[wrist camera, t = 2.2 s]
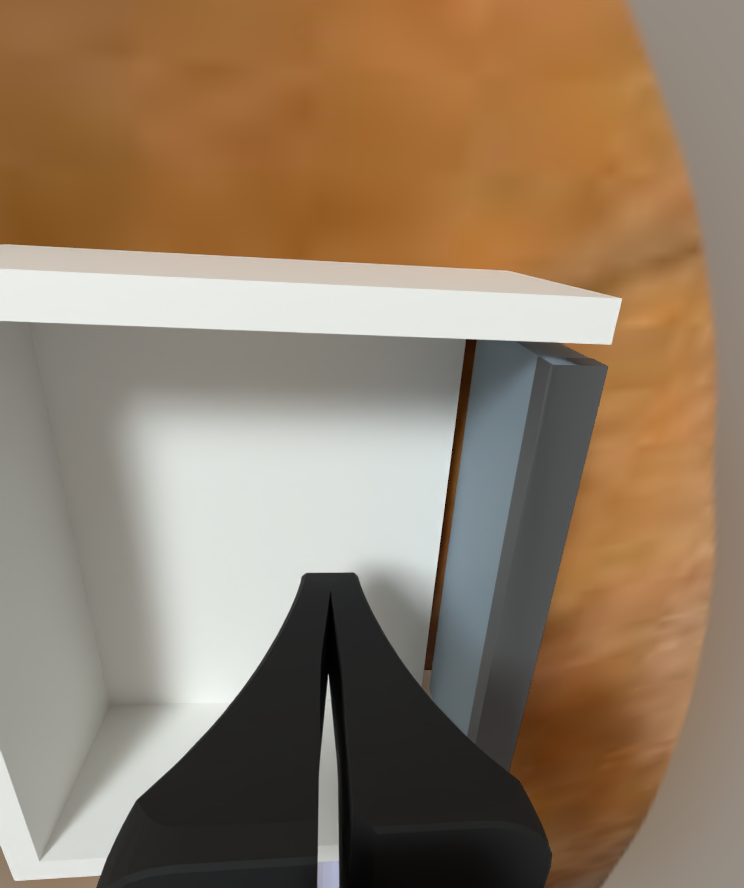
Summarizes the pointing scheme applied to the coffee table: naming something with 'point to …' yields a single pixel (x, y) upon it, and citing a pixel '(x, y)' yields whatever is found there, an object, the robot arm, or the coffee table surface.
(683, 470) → the coffee table surface
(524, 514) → the door panel
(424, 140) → the coffee table surface
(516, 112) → the coffee table surface
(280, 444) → the white cubby shelf
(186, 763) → the robot arm
